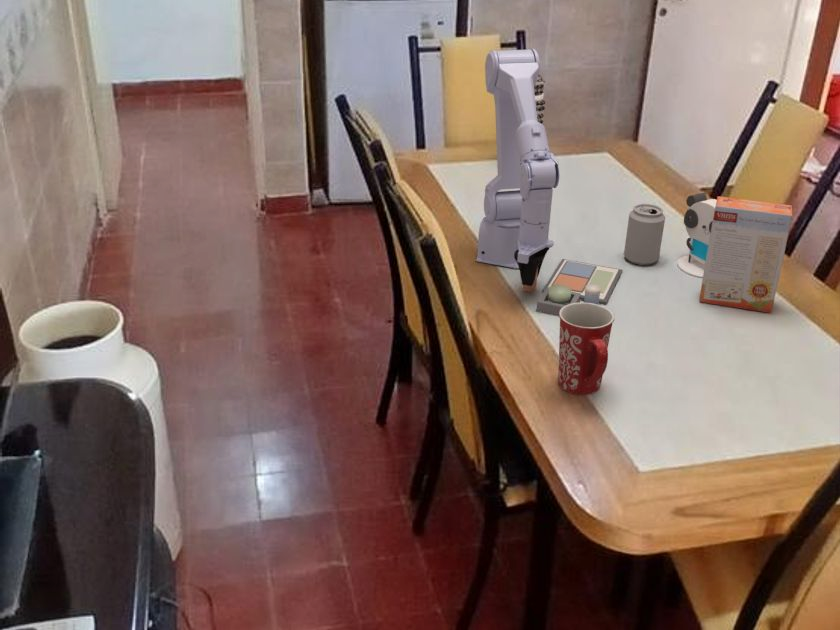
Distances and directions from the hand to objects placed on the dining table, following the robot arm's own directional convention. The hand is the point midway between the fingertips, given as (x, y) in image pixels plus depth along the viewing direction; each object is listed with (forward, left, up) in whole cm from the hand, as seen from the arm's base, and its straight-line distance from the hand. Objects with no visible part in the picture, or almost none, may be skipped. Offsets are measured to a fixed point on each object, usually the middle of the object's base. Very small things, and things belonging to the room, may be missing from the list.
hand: (529, 281), depth 190 cm
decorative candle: (-22, +70, -3) cm, 73 cm away
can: (+18, +25, -3) cm, 31 cm away
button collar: (+7, -4, -3) cm, 8 cm away
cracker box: (+39, +13, -3) cm, 41 cm away
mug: (+18, -31, -3) cm, 36 cm away
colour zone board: (+9, +9, -3) cm, 13 cm away
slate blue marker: (+14, -5, -3) cm, 15 cm away
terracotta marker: (0, 0, -2) cm, 2 cm away
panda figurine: (+31, +27, -3) cm, 41 cm away
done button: (+7, -4, -1) cm, 8 cm away
